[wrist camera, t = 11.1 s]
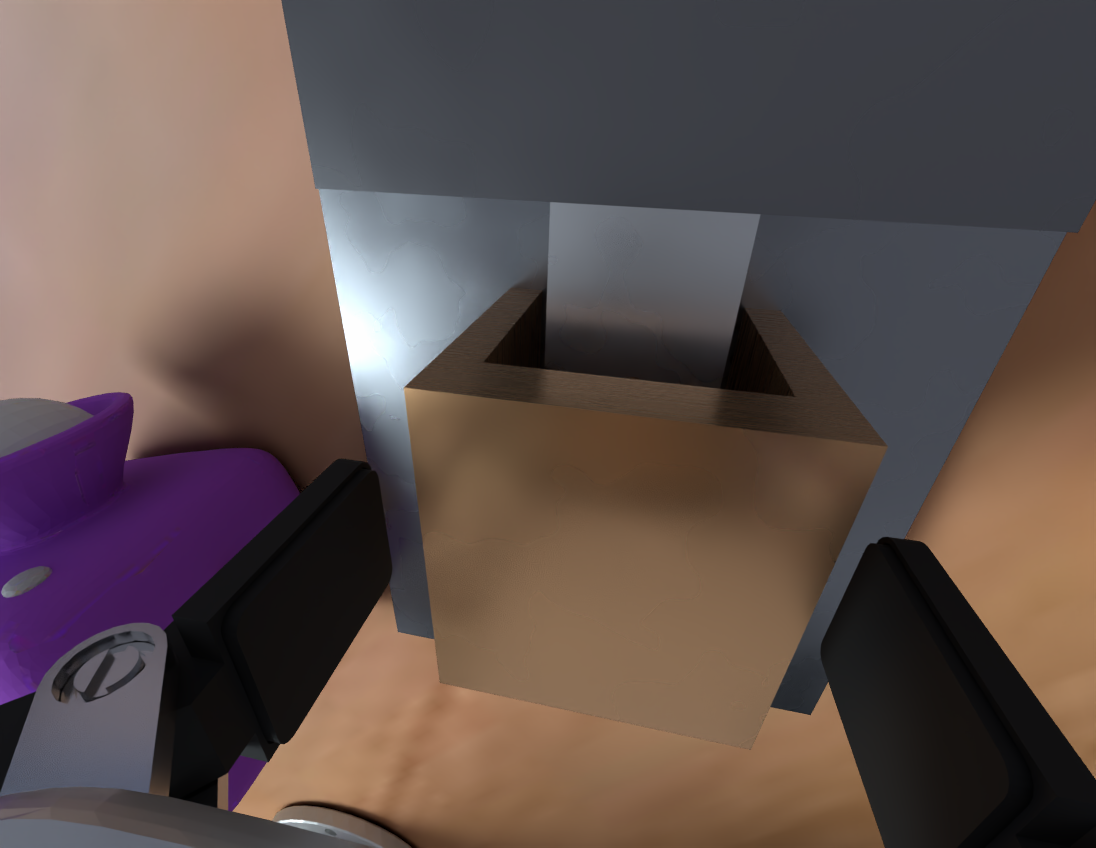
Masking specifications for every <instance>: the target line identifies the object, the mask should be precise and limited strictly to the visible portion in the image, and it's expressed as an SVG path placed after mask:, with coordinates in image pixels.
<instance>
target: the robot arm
mask: <svg viewBox="0 0 1096 848" xmlns="http://www.w3.org/2000/svg"><path fill="white" fill-rule="evenodd" d="M391 575H392V560H391V554H390V547H389V541H388V535H387V528H386V522H385V516H384V509H383V503H382V497H381V490H380V484H379V478H378V474H377V472H376V471H374V470H371V466H370V465H369V464H368V463H366V462H362V461H355V460H348V459H337V460H336V461H334V462H333V463H332V464H331V465H330V466H329V467H328V468H327V469H326V470H325V471H324V472H323V473H322V474H321V475H320V476H318V477H317V478H316V479H315V480H314V481H313V482H312V483H311V484H310V485H309V486H308V487H307V488H306V489H305V490H304V491H303V492H302V493H300V494H299V495H298V496H297V497H296V498H295V499H294V500H293V501H292V502H291V503H290V504H289V505H288V506H287V507H286V508H285V509H284V510H283V511H281V512H280V513H279V514H278V515H277V516H276V517H275V518H274V519H273V520H272V521H271V522H270V523H269V524H268V525H267V526H266V527H265V528H263V529H262V530H261V531H260V532H259V533H258V534H257V535H256V536H255V537H254V538H253V539H252V540H251V541H250V542H249V543H248V544H247V545H245V546H244V547H243V548H242V549H241V550H240V551H239V552H238V553H237V554H236V555H235V556H234V557H233V558H232V559H231V560H230V561H229V562H227V563H226V564H225V565H224V566H223V567H222V568H221V569H220V570H219V571H218V572H217V573H216V574H215V575H214V576H213V577H212V578H211V579H209V580H208V581H207V582H206V583H205V584H204V585H203V586H202V587H201V588H200V589H199V590H198V591H197V592H196V593H195V594H194V595H193V596H191V597H190V598H189V599H188V600H187V601H186V602H185V603H184V604H183V605H182V606H181V607H180V608H179V609H178V610H177V611H176V612H175V613H174V614H172V615H171V616H172V618H173V620H174V621H173V622H171V623H170V624H169V625H168V626H167V627H166V628H165V629H164V630H162V629H161V628H160V627H159V626H156V625H153V624H150V623H130V624H126V625H121V626H117V627H113V628H111V629H108V630H106V631H103V632H101V633H98V634H96V635H94V636H92V637H90V638H88V639H87V640H85V641H83V642H81V643H80V644H78V645H76V646H75V647H74V648H72V649H71V650H70V651H68V652H67V653H66V654H65V655H63V656H62V657H61V658H59V659H58V660H57V662H56V663H55V664H54V665H53V666H52V667H51V668H50V669H49V670H48V671H47V672H46V673H45V675H44V677H43V679H42V681H41V682H40V684H39V686H38V688H37V690H36V691H35V692H33V693H30V694H28V695H25V696H22V697H20V698H17V699H15V700H12V701H9V702H7V703H4V704H2V705H0V848H412V847H411V846H409V845H408V844H407V843H406V842H404V841H403V840H401V839H400V838H398V837H397V836H395V835H394V834H392V833H390V832H388V831H387V830H385V829H383V828H381V827H379V826H377V825H375V824H373V823H370V822H368V821H366V820H364V819H361V818H358V817H356V816H353V815H350V814H347V813H344V812H340V811H337V810H333V809H328V808H323V807H317V806H306V805H303V806H291V807H287V808H284V809H282V810H281V811H279V812H277V814H276V815H275V817H274V818H273V820H272V821H270V820H266V819H262V818H257V817H253V816H249V815H245V814H240V813H236V812H232V811H228V772H229V771H230V769H231V768H232V766H233V765H234V763H235V762H236V760H237V759H238V758H239V756H244V757H249V758H253V759H257V760H261V761H265V762H269V761H270V759H271V758H272V756H273V754H274V753H275V751H276V750H277V748H278V747H279V745H280V744H285V743H287V742H288V741H289V740H290V739H291V738H292V737H293V736H294V734H295V733H296V731H297V730H298V728H299V727H300V725H301V723H302V722H303V720H304V719H305V717H306V715H307V714H308V712H309V711H310V709H311V707H312V706H313V704H314V703H315V701H316V699H317V698H318V696H319V695H320V693H321V691H322V690H323V688H324V686H325V685H326V683H327V682H328V680H329V678H330V677H331V675H332V674H333V672H334V670H335V669H336V667H337V666H338V664H339V662H340V661H341V659H342V658H343V656H344V654H345V653H346V651H347V650H348V648H349V646H350V645H351V643H352V642H353V640H354V638H355V637H356V635H357V634H358V632H359V630H360V629H361V627H362V625H363V624H364V622H365V621H366V619H367V617H368V616H369V614H370V613H371V611H372V609H373V608H374V606H375V605H376V603H377V601H378V600H379V598H380V597H381V595H382V593H383V592H384V590H385V589H386V587H387V585H388V583H389V581H390V579H391ZM820 654H821V661H822V665H823V667H824V670H825V673H826V676H827V679H828V682H829V685H830V688H831V691H832V694H833V697H834V700H835V703H836V706H837V708H838V711H839V714H840V717H841V720H842V723H843V726H844V729H845V732H846V735H847V738H848V741H849V744H850V746H851V749H852V752H853V755H854V758H855V761H856V764H857V767H858V770H859V773H860V776H861V779H862V782H863V785H864V787H865V790H866V793H867V796H868V799H869V802H870V805H871V808H872V811H873V814H874V817H875V820H876V823H877V826H878V828H879V831H880V834H881V837H882V840H883V843H884V846H885V848H1096V779H1095V778H1094V776H1093V775H1092V774H1091V772H1090V771H1089V770H1088V768H1087V767H1086V765H1085V764H1084V763H1083V761H1082V760H1081V758H1080V757H1079V756H1078V754H1077V753H1076V752H1075V750H1074V749H1073V747H1072V746H1071V745H1070V743H1069V742H1068V740H1067V739H1066V738H1065V736H1064V735H1063V733H1062V732H1061V731H1060V729H1059V728H1058V727H1057V725H1056V724H1055V722H1054V721H1053V720H1052V718H1051V717H1050V715H1049V714H1048V713H1047V711H1046V710H1045V708H1044V707H1043V706H1042V704H1041V703H1040V702H1039V700H1038V699H1037V697H1036V696H1035V695H1034V693H1033V692H1032V690H1031V689H1030V688H1029V686H1028V685H1027V684H1026V682H1025V681H1024V679H1023V678H1022V677H1021V675H1020V674H1019V672H1018V671H1017V670H1016V668H1015V667H1014V665H1013V664H1012V663H1011V661H1010V660H1009V659H1008V657H1007V656H1006V654H1005V653H1004V652H1003V650H1002V649H1001V647H1000V646H999V645H998V643H997V642H996V641H995V639H994V638H993V636H992V635H991V634H990V632H989V631H988V629H987V628H986V627H985V625H984V624H983V622H982V621H981V620H980V618H979V617H978V616H977V614H976V613H975V611H974V610H973V609H972V607H971V606H970V604H969V603H968V602H967V600H966V599H965V597H964V596H963V595H962V593H961V592H960V591H959V589H958V588H957V586H956V585H955V584H954V582H953V581H952V579H951V578H950V577H949V575H948V574H947V573H946V571H945V570H944V568H943V567H942V566H941V564H940V563H939V561H938V560H937V559H936V557H935V556H934V554H933V553H932V552H931V550H930V549H929V548H928V547H927V546H926V545H925V544H924V543H922V542H920V541H913V540H906V539H899V538H892V537H882V538H881V539H879V540H878V542H877V543H870V544H869V545H867V547H866V549H865V551H864V553H863V555H862V557H861V559H860V561H859V563H858V565H857V568H856V570H855V572H854V574H853V576H852V578H851V580H850V582H849V585H848V587H847V589H846V591H845V593H844V595H843V597H842V600H841V602H840V604H839V606H838V608H837V610H836V612H835V614H834V617H833V619H832V621H831V623H830V625H829V627H828V629H827V631H826V634H825V636H824V638H823V640H822V643H821V648H820Z"/></svg>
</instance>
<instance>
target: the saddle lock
mask: <svg viewBox="0 0 1096 848" xmlns="http://www.w3.org/2000/svg"><path fill="white" fill-rule="evenodd" d="M541 317H542V290H533V289H522V288H510V289H509V290H508V291H507V292H506V293H505V294H503V295H502V296H501V297H500V298H499V299H498V300H497V301H496V302H495V303H494V304H493V305H492V306H491V307H490V308H488V309H487V310H486V311H485V312H484V313H483V314H482V315H481V316H480V317H479V318H478V319H477V320H476V321H475V322H473V323H472V324H471V325H470V326H469V327H468V328H467V329H466V330H465V331H464V332H463V333H462V334H461V335H459V336H458V337H457V338H456V339H455V340H454V341H453V342H452V343H451V344H450V345H449V346H448V347H447V348H446V349H444V350H443V351H442V352H441V353H440V354H439V355H438V356H437V357H436V358H435V359H434V360H433V361H432V362H431V363H429V364H428V365H427V366H426V367H425V368H424V369H423V370H422V371H421V372H420V373H419V374H418V375H417V376H416V377H414V378H413V379H412V380H411V381H410V382H409V383H408V384H407V385H406V386H405V387H404V394H405V402H406V411H407V419H408V427H409V435H410V443H411V451H412V460H413V468H414V476H415V484H416V492H417V500H418V509H419V517H420V525H421V533H422V541H423V549H424V558H425V566H426V574H427V582H428V590H429V598H430V607H431V615H432V623H433V631H434V639H435V647H436V656H437V664H438V672H439V680H440V683H443V684H448V685H453V686H457V687H462V688H467V689H471V690H476V691H480V692H485V693H490V694H494V695H499V696H504V697H508V698H513V699H518V700H522V701H527V702H531V703H536V704H541V705H545V706H550V707H555V708H559V709H564V710H569V711H573V712H578V713H582V714H587V715H592V716H596V717H601V718H606V719H610V720H615V721H620V722H624V723H629V724H634V725H638V726H643V727H647V728H652V729H657V730H661V731H666V732H671V733H675V734H680V735H685V736H689V737H694V738H698V739H703V740H708V741H712V742H717V743H722V744H726V745H731V746H736V747H740V748H745V749H749V750H751V748H752V746H753V743H754V741H755V739H756V737H757V735H758V732H759V730H760V728H761V726H762V724H763V721H764V719H765V717H766V715H767V713H768V710H769V708H770V706H771V704H772V702H773V699H774V697H775V695H776V693H777V691H778V688H779V686H780V684H781V682H782V680H783V677H784V675H785V673H786V671H787V669H788V666H789V664H790V662H791V660H792V658H793V655H794V653H795V651H796V649H797V646H798V644H799V642H800V640H801V638H802V635H803V633H804V631H805V629H806V627H807V624H808V622H809V620H810V618H811V616H812V613H813V611H814V609H815V607H816V605H817V602H818V600H819V598H820V596H821V594H822V591H823V589H824V587H825V585H826V583H827V580H828V578H829V576H830V574H831V572H832V569H833V567H834V565H835V563H836V561H837V558H838V556H839V554H840V552H841V550H842V547H843V545H844V543H845V541H846V539H847V536H848V534H849V532H850V530H851V528H852V525H853V523H854V521H855V519H856V517H857V514H858V512H859V510H860V508H861V506H862V503H863V501H864V499H865V497H866V495H867V492H868V490H869V488H870V486H871V483H872V481H873V479H874V477H875V475H876V472H877V470H878V468H879V466H880V464H881V461H882V459H883V457H884V455H885V453H886V450H887V448H888V446H887V445H886V443H885V442H884V441H883V439H882V438H881V437H880V436H879V434H878V433H877V432H876V431H875V429H874V428H873V427H872V426H871V424H870V423H869V422H868V420H867V419H866V418H865V417H864V415H863V414H862V413H861V412H860V410H859V409H858V408H857V407H856V405H855V404H854V403H853V401H852V400H851V399H850V398H849V396H848V395H847V394H846V393H845V391H844V390H843V389H842V388H841V386H840V385H839V384H838V382H837V381H836V380H835V379H834V377H833V376H832V375H831V374H830V372H829V371H828V370H827V369H826V367H825V366H824V365H823V363H822V362H821V361H820V360H819V358H818V357H817V356H816V355H815V353H814V352H813V351H812V350H811V348H810V347H809V346H808V344H807V343H806V342H805V341H804V339H803V338H802V337H801V336H800V334H799V333H798V332H797V331H796V329H795V328H794V327H793V325H792V324H791V323H790V322H789V320H788V319H787V318H786V317H785V315H784V314H783V313H782V312H781V311H776V310H765V309H753V308H745V309H744V313H743V317H742V321H741V325H740V330H739V334H738V338H737V342H736V346H735V350H734V355H733V359H732V363H731V367H730V371H729V375H728V380H727V384H726V388H725V389H718V388H709V387H700V386H691V385H682V384H673V383H664V382H655V381H646V380H637V379H627V378H618V377H609V376H600V375H591V374H582V373H573V372H564V371H555V370H546V369H540V350H541Z"/></svg>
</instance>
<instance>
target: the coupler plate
mask: <svg viewBox="0 0 1096 848" xmlns="http://www.w3.org/2000/svg"><path fill="white" fill-rule="evenodd" d="M281 1H282V6H283V12H284V17H285V23H286V28H287V34H288V39H289V45H290V50H291V56H292V61H293V67H294V72H295V78H296V83H297V89H298V94H299V100H300V105H301V111H302V116H303V122H304V127H305V133H306V138H307V144H308V149H309V155H310V160H311V166H312V171H313V177H314V182H315V188H316V189H319V193H320V199H321V204H322V210H323V216H324V221H325V227H326V232H327V238H328V243H329V249H330V255H331V260H332V266H333V271H334V277H335V283H336V288H337V294H338V299H339V305H340V311H341V316H342V322H343V327H344V333H345V338H346V344H347V350H348V355H349V361H350V366H351V372H352V378H353V383H354V389H355V394H356V400H357V405H358V411H359V417H360V422H361V428H362V433H363V439H364V445H365V450H366V456H367V461H368V464H369V465H370V466H371V470H374V471H376V472H377V474H378V478H379V484H380V490H381V497H382V503H383V509H384V516H385V522H386V528H387V535H388V541H389V547H390V554H391V560H392V575H391V579H390V581H389V584H390V590H391V595H392V601H393V607H394V612H395V618H396V623H397V629H398V632H401V633H406V634H411V635H416V636H421V637H426V638H431V639H434V631H433V623H432V615H431V607H430V598H429V590H428V582H427V574H426V566H425V558H424V549H423V541H422V533H421V525H420V517H419V509H418V500H417V492H416V484H415V476H414V468H413V460H412V451H411V443H410V435H409V427H408V419H407V411H406V402H405V394H404V387H405V386H406V385H407V384H408V383H409V382H410V381H411V380H412V379H413V378H414V377H416V376H417V375H418V374H419V373H420V372H421V371H422V370H423V369H424V368H425V367H426V366H427V365H428V364H429V363H431V362H432V361H433V360H434V359H435V358H436V357H437V356H438V355H439V354H440V353H441V352H442V351H443V350H444V349H446V348H447V347H448V346H449V345H450V344H451V343H452V342H453V341H454V340H455V339H456V338H457V337H458V336H459V335H461V334H462V333H463V332H464V331H465V330H466V329H467V328H468V327H469V326H470V325H471V324H472V323H473V322H475V321H476V320H477V319H478V318H479V317H480V316H481V315H482V314H483V313H484V312H485V311H486V310H487V309H488V308H490V307H491V306H492V305H493V304H494V303H495V302H496V301H497V300H498V299H499V298H500V297H501V296H502V295H503V294H505V293H506V292H507V291H508V290H509V289H510V288H522V289H533V290H542V317H541V350H540V369H546V370H555V371H564V372H573V373H582V374H591V375H600V376H609V377H618V378H627V379H637V380H646V381H655V382H664V383H673V384H682V385H691V386H700V387H709V388H718V389H725V388H726V384H727V380H728V375H729V371H730V367H731V363H732V359H733V355H734V350H735V346H736V342H737V338H738V334H739V330H740V325H741V321H742V317H743V313H744V309H745V308H753V309H765V310H776V311H781V312H782V313H783V314H784V315H785V317H786V318H787V319H788V320H789V322H790V323H791V324H792V325H793V327H794V328H795V329H796V331H797V332H798V333H799V334H800V336H801V337H802V338H803V339H804V341H805V342H806V343H807V344H808V346H809V347H810V348H811V350H812V351H813V352H814V353H815V355H816V356H817V357H818V358H819V360H820V361H821V362H822V363H823V365H824V366H825V367H826V369H827V370H828V371H829V372H830V374H831V375H832V376H833V377H834V379H835V380H836V381H837V382H838V384H839V385H840V386H841V388H842V389H843V390H844V391H845V393H846V394H847V395H848V396H849V398H850V399H851V400H852V401H853V403H854V404H855V405H856V407H857V408H858V409H859V410H860V412H861V413H862V414H863V415H864V417H865V418H866V419H867V420H868V422H869V423H870V424H871V426H872V427H873V428H874V429H875V431H876V432H877V433H878V434H879V436H880V437H881V438H882V439H883V441H884V442H885V443H886V445H887V446H888V448H887V450H886V453H885V455H884V457H883V459H882V461H881V464H880V466H879V468H878V470H877V472H876V475H875V477H874V479H873V481H872V483H871V486H870V488H869V490H868V492H867V495H866V497H865V499H864V501H863V503H862V506H861V508H860V510H859V512H858V514H857V517H856V519H855V521H854V523H853V525H852V528H851V530H850V532H849V534H848V536H847V539H846V541H845V543H844V545H843V547H842V550H841V552H840V554H839V556H838V558H837V561H836V563H835V565H834V567H833V569H832V572H831V574H830V576H829V578H828V580H827V583H826V585H825V587H824V589H823V591H822V594H821V596H820V598H819V600H818V602H817V605H816V607H815V609H814V611H813V613H812V616H811V618H810V620H809V622H808V624H807V627H806V629H805V631H804V633H803V635H802V638H801V640H800V642H799V644H798V646H797V649H796V651H795V653H794V655H793V658H792V660H791V662H790V664H789V666H788V669H787V671H786V673H785V675H784V677H783V680H782V682H781V684H780V686H779V688H778V691H777V693H776V695H775V697H774V699H773V702H772V704H771V706H770V707H773V708H778V709H783V710H788V711H793V712H798V713H803V714H808V715H811V713H812V711H813V709H814V708H815V706H816V704H817V702H818V700H819V698H820V696H821V694H822V692H823V691H824V689H825V687H826V685H827V683H828V679H827V676H826V673H825V670H824V667H823V665H822V661H821V654H820V648H821V643H822V640H823V638H824V636H825V634H826V631H827V629H828V627H829V625H830V623H831V621H832V619H833V617H834V614H835V612H836V610H837V608H838V606H839V604H840V602H841V600H842V597H843V595H844V593H845V591H846V589H847V587H848V585H849V582H850V580H851V578H852V576H853V574H854V572H855V570H856V568H857V565H858V563H859V561H860V559H861V557H862V555H863V553H864V551H865V549H866V547H867V545H869V544H870V543H877V542H878V540H879V539H881V538H882V537H892V538H899V539H904V538H905V536H906V534H907V532H908V531H909V529H910V527H911V525H912V523H913V521H914V519H915V517H916V515H917V514H918V512H919V510H920V508H921V506H922V504H923V502H924V500H925V499H926V497H927V495H928V493H929V491H930V489H931V487H932V485H933V483H934V482H935V480H936V478H937V476H938V474H939V472H940V470H941V468H942V467H943V465H944V463H945V461H946V459H947V457H948V455H949V453H950V451H951V450H952V448H953V446H954V444H955V442H956V440H957V438H958V436H959V434H960V433H961V431H962V429H963V427H964V425H965V423H966V421H967V419H968V418H969V416H970V414H971V412H972V410H973V408H974V406H975V404H976V402H977V401H978V399H979V397H980V395H981V393H982V391H983V389H984V387H985V386H986V384H987V382H988V380H989V378H990V376H991V374H992V372H993V370H994V369H995V367H996V365H997V363H998V361H999V359H1000V357H1001V355H1002V354H1003V352H1004V350H1005V348H1006V346H1007V344H1008V342H1009V340H1010V338H1011V337H1012V335H1013V333H1014V331H1015V329H1016V327H1017V325H1018V323H1019V322H1020V320H1021V318H1022V316H1023V314H1024V312H1025V310H1026V308H1027V306H1028V305H1029V303H1030V301H1031V299H1032V297H1033V295H1034V293H1035V291H1036V289H1037V288H1038V286H1039V284H1040V282H1041V280H1042V278H1043V276H1044V274H1045V273H1046V271H1047V269H1048V267H1049V265H1050V263H1051V261H1052V259H1053V257H1054V256H1055V254H1056V252H1057V250H1058V248H1059V246H1060V244H1061V242H1062V241H1063V239H1064V237H1065V235H1066V233H1067V232H1075V233H1078V232H1079V230H1080V228H1081V226H1082V224H1083V222H1084V221H1085V219H1086V217H1087V215H1088V213H1089V211H1090V210H1091V208H1092V206H1093V204H1094V202H1095V200H1096V0H281Z"/></svg>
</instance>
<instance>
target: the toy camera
mask: <svg viewBox="0 0 1096 848" xmlns="http://www.w3.org/2000/svg"><path fill="white" fill-rule="evenodd" d="M133 413H134V409H133V399H132V397H131V395H130V394H128V393H121V392H117V393H106V394H101V395H96V396H91V397H87V398H83V399H79V400H75V401H72V402H68V403H63V402H59V401H53V400H47V399H41V398H18V399H7V400H0V705H2V704H4V703H7V702H9V701H12V700H15V699H17V698H20V697H22V696H25V695H28V694H30V693H33V692H35V691H36V690H37V688H38V686H39V684H40V682H41V681H42V679H43V677H44V675H45V673H46V672H47V671H48V670H49V669H50V668H51V667H52V666H53V665H54V664H55V663H56V662H57V660H58V659H59V658H61V657H62V656H63V655H65V654H66V653H67V652H68V651H70V650H71V649H72V648H74V647H75V646H76V645H78V644H80V643H81V642H83V641H85V640H87V639H88V638H90V637H92V636H94V635H96V634H98V633H101V632H103V631H106V630H108V629H111V628H113V627H117V626H121V625H126V624H130V623H150V624H153V625H156V626H159V627H160V628H161V629H162V630H164V629H165V628H166V627H167V626H168V625H169V624H170V623H171V622H173V621H174V620H173V618H172V616H171V615H172V614H174V613H175V612H176V611H177V610H178V609H179V608H180V607H181V606H182V605H183V604H184V603H185V602H186V601H187V600H188V599H189V598H190V597H191V596H193V595H194V594H195V593H196V592H197V591H198V590H199V589H200V588H201V587H202V586H203V585H204V584H205V583H206V582H207V581H208V580H209V579H211V578H212V577H213V576H214V575H215V574H216V573H217V572H218V571H219V570H220V569H221V568H222V567H223V566H224V565H225V564H226V563H227V562H229V561H230V560H231V559H232V558H233V557H234V556H235V555H236V554H237V553H238V552H239V551H240V550H241V549H242V548H243V547H244V546H245V545H247V544H248V543H249V542H250V541H251V540H252V539H253V538H254V537H255V536H256V535H257V534H258V533H259V532H260V531H261V530H262V529H263V528H265V527H266V526H267V525H268V524H269V523H270V522H271V521H272V520H273V519H274V518H275V517H276V516H277V515H278V514H279V513H280V512H281V511H283V510H284V509H285V508H286V507H287V506H288V505H289V504H290V503H291V502H292V501H293V500H294V499H295V498H296V497H297V496H298V495H299V494H300V492H299V490H298V489H297V487H296V485H295V483H294V482H293V480H292V479H291V477H290V476H289V474H288V472H287V471H286V469H285V468H284V467H283V465H282V464H281V463H280V462H279V461H278V460H277V458H275V457H274V456H273V455H271V454H270V453H268V452H266V451H263V450H261V449H253V448H228V449H215V450H205V451H196V452H186V453H177V454H170V455H162V456H155V457H148V458H140V459H134V460H128V461H125V458H126V454H127V449H128V444H129V439H130V434H131V429H132V421H133ZM266 763H267V762H265V761H261V760H257V759H253V758H249V757H244V756H239V758H238V759H237V760H236V762H235V763H234V765H233V766H232V768H231V769H230V771H229V772H228V811H233V810H234V808H235V807H236V806H237V805H238V803H239V802H240V801H241V799H242V798H243V796H244V795H245V794H246V792H247V791H248V790H249V788H250V787H251V785H252V784H253V782H254V781H255V779H256V778H257V776H258V775H259V773H260V772H261V770H262V769H263V767H264V766H265V764H266Z"/></svg>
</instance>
